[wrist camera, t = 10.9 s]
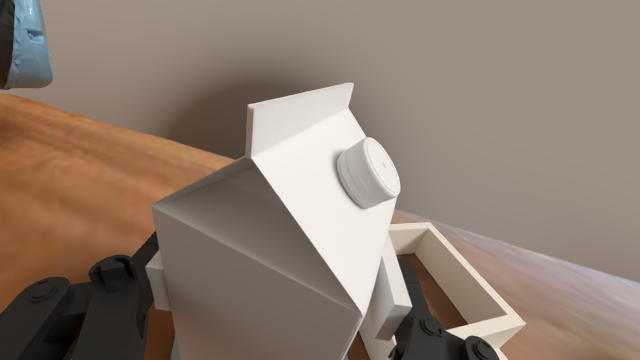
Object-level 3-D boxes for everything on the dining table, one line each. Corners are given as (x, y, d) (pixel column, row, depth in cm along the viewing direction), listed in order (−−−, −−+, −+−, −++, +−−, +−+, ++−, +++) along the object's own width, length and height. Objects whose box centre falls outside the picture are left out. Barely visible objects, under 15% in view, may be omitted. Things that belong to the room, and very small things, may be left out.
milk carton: (186, 397, 15) (120, 62, 5) (256, 302, 21) (282, 63, 11) (286, 473, 13) (443, 170, 4) (331, 346, 19) (435, 105, 10)
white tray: (321, 236, 31) (329, 209, 29) (403, 231, 36) (415, 207, 34) (402, 440, 16) (430, 417, 14) (527, 388, 21) (563, 363, 18)
